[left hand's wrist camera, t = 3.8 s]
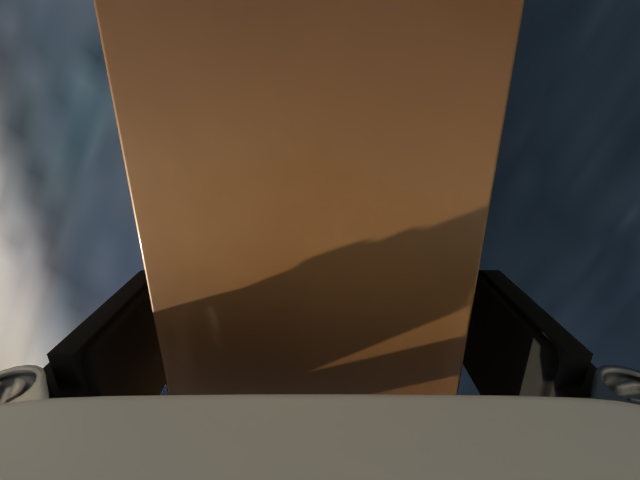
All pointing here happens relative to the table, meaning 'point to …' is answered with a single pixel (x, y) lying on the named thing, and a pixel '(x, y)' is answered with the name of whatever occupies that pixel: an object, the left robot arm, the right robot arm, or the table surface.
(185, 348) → the bar
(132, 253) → the table surface
